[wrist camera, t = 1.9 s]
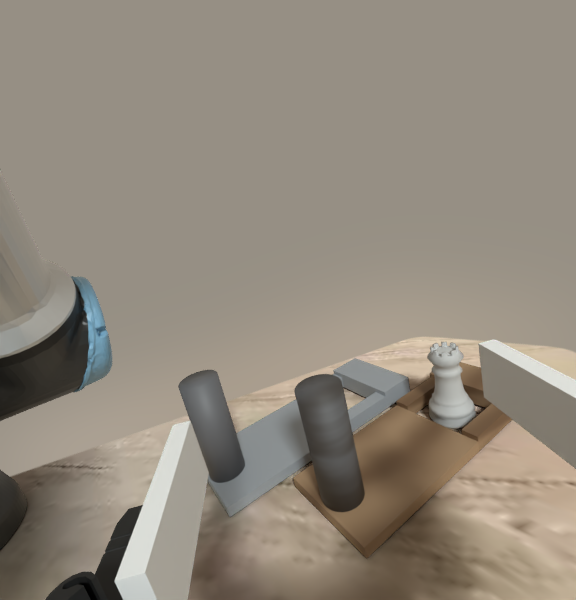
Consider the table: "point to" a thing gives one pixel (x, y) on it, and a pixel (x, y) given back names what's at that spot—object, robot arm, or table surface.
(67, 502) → the table surface
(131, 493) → the table surface
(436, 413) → the rook chess piece
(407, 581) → the table surface
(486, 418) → the brown board with post
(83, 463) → the table surface
